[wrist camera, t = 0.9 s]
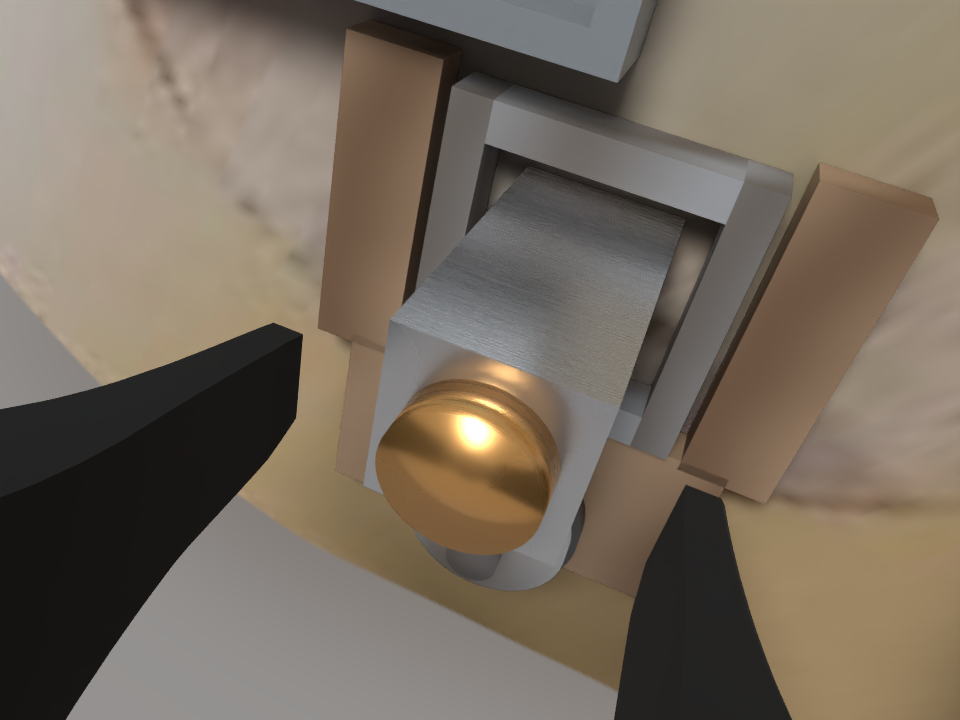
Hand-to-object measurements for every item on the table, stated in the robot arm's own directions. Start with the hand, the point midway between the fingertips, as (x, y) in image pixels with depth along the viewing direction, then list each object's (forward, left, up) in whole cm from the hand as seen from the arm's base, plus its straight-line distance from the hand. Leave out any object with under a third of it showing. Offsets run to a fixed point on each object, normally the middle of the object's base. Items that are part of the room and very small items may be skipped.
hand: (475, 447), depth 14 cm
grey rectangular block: (0, 0, -8) cm, 8 cm away
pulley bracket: (0, +2, -8) cm, 8 cm away
